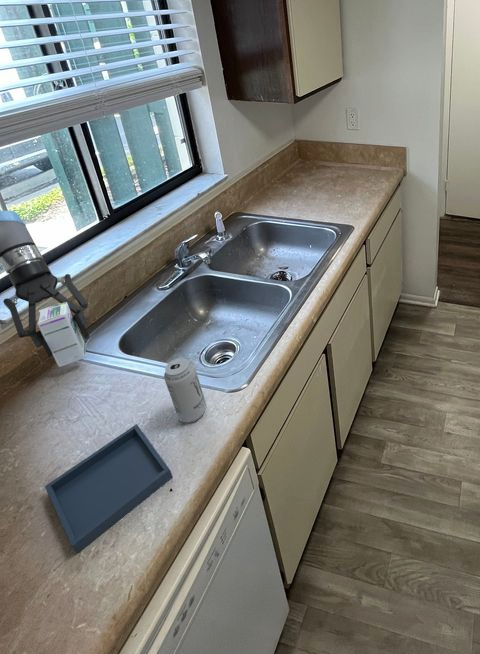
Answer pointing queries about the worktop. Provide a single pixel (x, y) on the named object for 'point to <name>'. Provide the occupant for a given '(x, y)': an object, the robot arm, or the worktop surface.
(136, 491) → the tray
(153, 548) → the worktop surface
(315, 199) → the worktop surface
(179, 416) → the energy drink can
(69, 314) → the syrup box
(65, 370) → the worktop surface
